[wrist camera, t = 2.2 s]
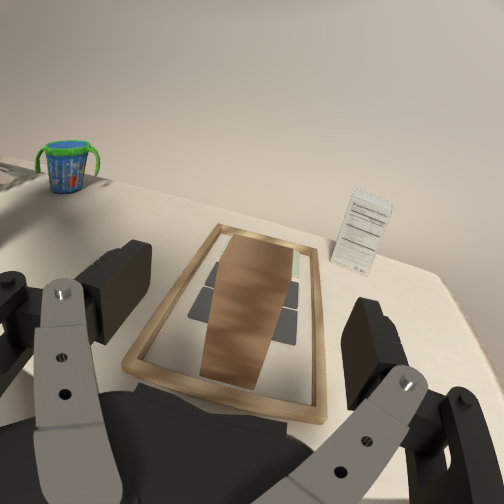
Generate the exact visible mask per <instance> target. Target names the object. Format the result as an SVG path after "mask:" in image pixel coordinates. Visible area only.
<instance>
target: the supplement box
mask: <svg viewBox="0 0 504 504" xmlns="http://www.w3.org/2000/svg"><path fill="white" fill-rule="evenodd" d="M391 212H392V202H390V201H388V200H385V199H382V198H380V197H377V196H375V195H372V194H369V193H367V192H364V191H361V190H358V189H356V191H355V192H354V193H353V194H352V196H351V199H350V202H349V205H348V208H347V211H346V215H345V218H344V221H343V223H342V226H341V230H340V233H339V236H338V239H337V242H336V245H335V248H334V251H333V254H332V256H331V259H330V262H332V263H334V264H336V265H339V266H341V267H344V268H346V269H349V270H351V271H353V272H356V273H358V274H361V275H363V276H367V275H368V273H369V271H370V268H371V266H372V263H373V260H374V258H375V255H376V253H377V250H378V247H379V245H380V243H381V240H382V237H383V235H384V232H385V230H386V227H387V224H388V221H389V218H390V215H391Z"/></svg>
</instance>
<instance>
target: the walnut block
mask: <svg viewBox="0 0 504 504" xmlns="http://www.w3.org/2000/svg"><path fill="white" fill-rule="evenodd" d="M292 264H293V248H289V247H285V246H281V245H277V244H274V243H270V242H266V241H262V240H258V239H254V238H250V237H246V236H242V235H239V234H235V233H234V234H233V236H232V238H231V239H230V241H229V243H228V245H227V247H226V249H225V250H224V252H223V254H222V256H221V258H220V260H219V264H218V270H217V275H216V281H215V286H214V292H213V297H212V303H211V309H210V315H209V321H208V326H207V332H206V338H205V344H204V350H203V357H202V363H201V369H200V375H199V376H203V377H206V378H210V379H213V380H217V381H220V382H224V383H228V384H231V385H235V386H239V387H243V388H247V389H251V390H254V387H255V385H256V382H257V379H258V376H259V373H260V371H261V368H262V365H263V362H264V359H265V356H266V354H267V351H268V348H269V345H270V342H271V339H272V336H273V333H274V330H275V327H276V324H277V321H278V318H279V315H280V312H281V309H282V306H283V303H284V300H285V297H286V294H287V291H288V288H289V285H290V282H291V277H292Z"/></svg>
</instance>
